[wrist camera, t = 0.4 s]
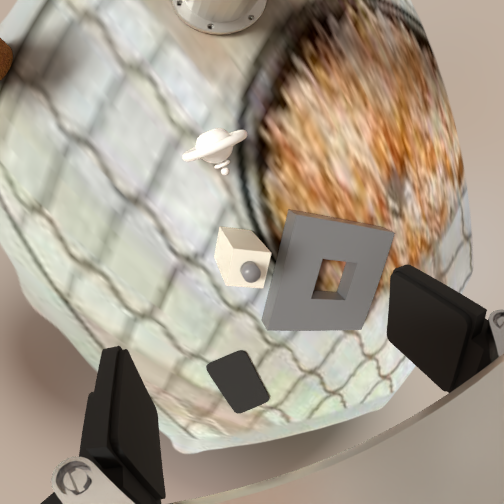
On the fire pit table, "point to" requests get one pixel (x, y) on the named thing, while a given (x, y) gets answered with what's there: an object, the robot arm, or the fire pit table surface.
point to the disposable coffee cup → (5, 58)
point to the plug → (241, 258)
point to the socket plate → (307, 268)
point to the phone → (238, 381)
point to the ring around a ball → (215, 147)
